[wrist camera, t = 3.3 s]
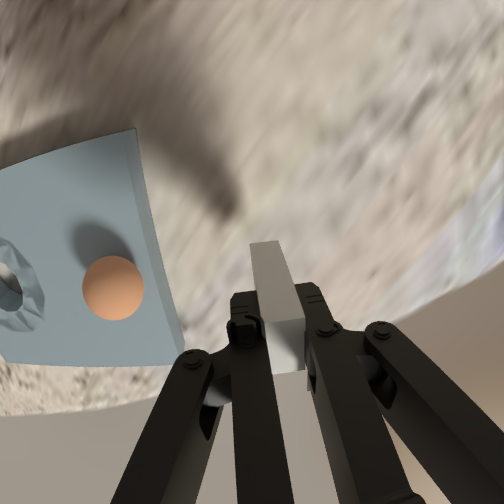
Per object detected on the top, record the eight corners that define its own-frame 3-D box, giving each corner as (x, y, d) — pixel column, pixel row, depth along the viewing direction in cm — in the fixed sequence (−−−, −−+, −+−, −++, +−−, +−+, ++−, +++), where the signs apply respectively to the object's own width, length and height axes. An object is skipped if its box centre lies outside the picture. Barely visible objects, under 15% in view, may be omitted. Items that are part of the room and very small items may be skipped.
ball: (87, 249, 17) (63, 279, 14) (141, 241, 17) (124, 272, 14) (105, 299, 19) (87, 334, 15) (156, 294, 19) (144, 331, 16)
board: (-47, 190, 16) (-66, 200, 14) (135, 128, 17) (122, 131, 14) (16, 345, 23) (6, 362, 21) (185, 341, 24) (181, 364, 21)
